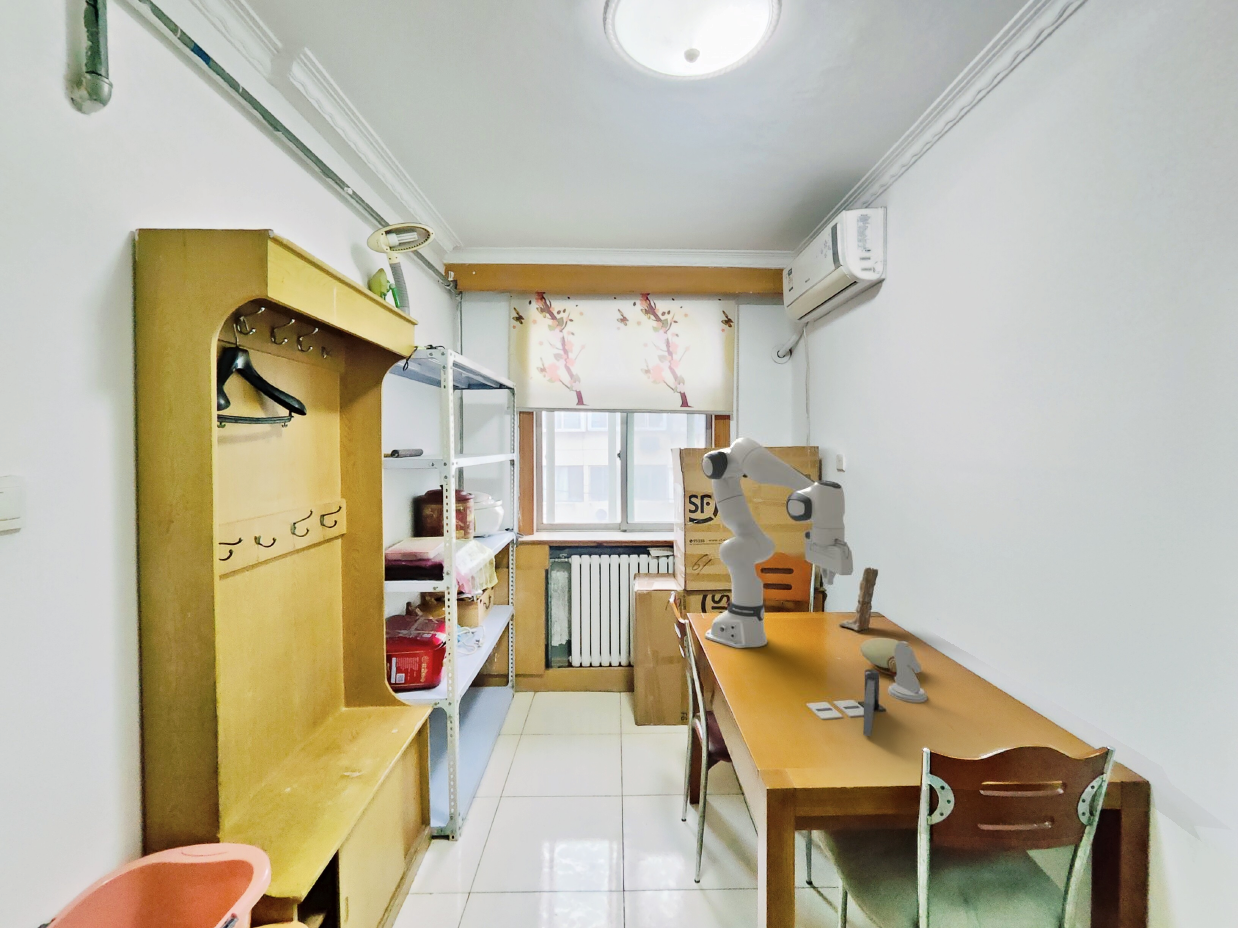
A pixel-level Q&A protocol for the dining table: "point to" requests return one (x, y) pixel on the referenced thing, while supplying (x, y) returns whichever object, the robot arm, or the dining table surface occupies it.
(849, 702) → the label plate
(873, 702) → the grey panel stand
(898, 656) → the chess piece
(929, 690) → the dining table surface
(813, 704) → the label plate
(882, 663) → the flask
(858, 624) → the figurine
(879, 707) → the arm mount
